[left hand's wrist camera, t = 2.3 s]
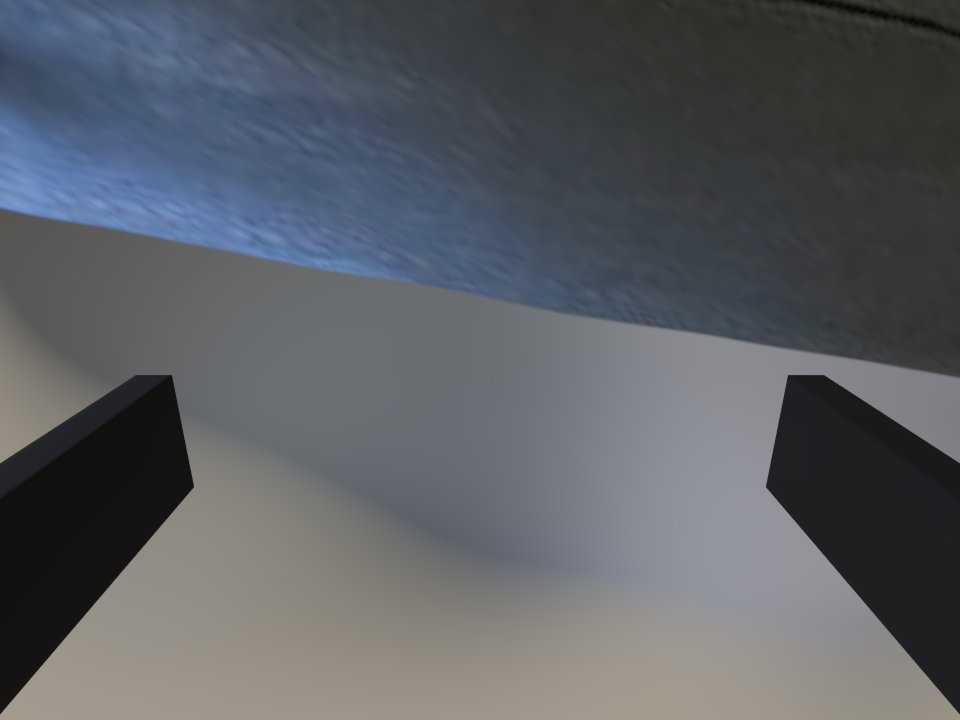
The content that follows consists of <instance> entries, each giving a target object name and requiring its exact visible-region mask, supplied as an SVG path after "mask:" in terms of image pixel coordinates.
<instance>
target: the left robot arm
mask: <svg viewBox="0 0 960 720" xmlns="http://www.w3.org/2000/svg"><path fill="white" fill-rule="evenodd" d="M193 488H194V484H193V479H192V474H191V469H190V464H189V459H188V454H187V449H186V444H185V439H184V434H183V429H182V424H181V419H180V414H179V409H178V404H177V399H176V393H175V388H174V383H173V378H172V375H135V376H134V377H132V378H131V379H129V380H128V381H126V382H125V383H123V384H122V385H120V386H119V387H117V388H115V389H114V390H112V391H111V392H109V393H108V394H106V395H105V396H103V397H102V398H100V399H99V400H97V401H96V402H94V403H92V404H91V405H89V406H88V407H86V408H85V409H83V410H82V411H80V412H79V413H77V414H75V415H74V416H72V417H71V418H69V419H68V420H66V421H65V422H63V423H62V424H60V425H59V426H57V427H55V428H54V429H52V430H51V431H49V432H48V433H46V434H45V435H43V436H42V437H40V438H39V439H37V440H35V441H34V442H32V443H31V444H29V445H28V446H26V447H25V448H23V449H22V450H20V451H19V452H17V453H15V454H14V455H12V456H11V457H9V458H8V459H6V460H5V461H3V462H2V463H0V714H1V713H2V712H3V710H4V709H5V708H6V707H7V706H8V704H9V703H10V702H11V701H12V700H13V699H14V698H15V696H16V695H17V694H18V693H19V692H20V690H21V689H22V688H23V687H24V686H25V685H26V683H27V682H28V681H29V680H30V679H31V678H32V676H33V675H34V674H35V673H36V672H37V670H38V669H39V668H40V667H41V666H42V665H43V664H44V662H45V661H46V660H47V659H48V658H49V656H50V655H51V654H52V653H53V652H54V651H55V649H56V648H57V647H58V646H59V645H60V644H61V642H62V641H63V640H64V639H65V638H66V637H67V635H68V634H69V633H70V632H71V631H72V629H73V628H74V627H75V626H76V625H77V624H78V622H79V621H80V620H81V619H82V618H83V617H84V615H85V614H86V613H87V612H88V611H89V610H90V608H91V607H92V606H93V605H94V604H95V603H96V601H97V600H98V599H99V598H100V597H101V596H102V594H103V593H104V592H105V591H106V590H107V588H108V587H109V586H110V585H111V584H112V583H113V581H114V580H115V579H116V578H117V577H118V576H119V574H120V573H121V572H122V571H123V570H124V569H125V567H126V566H127V565H128V564H129V563H130V561H131V560H132V559H133V558H134V557H135V556H136V554H137V553H138V552H139V551H140V550H141V549H142V547H143V546H144V545H145V544H146V543H147V542H148V540H149V539H150V538H151V537H152V536H153V535H154V533H155V532H156V531H157V530H158V529H159V528H160V526H161V525H162V524H163V523H164V522H165V520H166V519H167V518H168V517H169V516H170V515H171V513H172V512H173V511H174V510H175V509H176V508H177V506H178V505H179V504H180V503H181V502H182V501H183V499H184V498H185V497H186V496H187V495H188V493H189V492H190V491H191V490H192V489H193ZM766 488H767V489H768V490H769V491H770V492H771V494H772V495H773V496H774V497H775V498H776V499H777V500H778V502H779V503H780V504H781V505H782V506H783V508H784V509H785V510H786V511H787V512H788V513H789V515H790V516H791V517H792V518H793V519H794V520H795V522H796V523H797V524H798V525H799V526H800V527H801V529H802V530H803V531H804V532H805V533H806V535H807V536H808V537H809V538H810V539H811V540H812V542H813V543H814V544H815V545H816V546H817V547H818V549H819V550H820V551H821V552H822V553H823V554H824V556H825V557H826V558H827V559H828V560H829V562H830V563H831V564H832V565H833V566H834V567H835V569H836V570H837V571H838V572H839V573H840V574H841V576H842V577H843V578H844V579H845V580H846V581H847V583H848V584H849V585H850V586H851V587H852V588H853V590H854V591H855V592H856V593H857V594H858V595H859V597H860V598H861V599H862V600H863V601H864V603H865V604H866V605H867V606H868V607H869V608H870V610H871V611H872V612H873V613H874V614H875V615H876V617H877V618H878V619H879V620H880V621H881V622H882V624H883V625H884V626H885V627H886V628H887V629H888V631H889V632H890V633H891V634H892V635H893V637H894V638H895V639H896V640H897V641H898V642H899V644H900V645H901V646H902V647H903V648H904V649H905V651H906V652H907V653H908V654H909V655H910V656H911V658H912V659H913V660H914V661H915V662H916V664H917V665H918V666H919V667H920V668H921V669H922V671H923V672H924V673H925V674H926V675H927V676H928V678H929V679H930V680H931V681H932V682H933V683H934V685H935V686H936V687H937V688H938V689H939V690H940V692H941V693H942V694H943V695H944V696H945V698H946V699H947V700H948V701H949V702H950V703H951V704H952V706H953V707H954V708H955V709H956V710H957V712H958V713H959V714H960V463H958V462H957V461H955V460H954V459H952V458H951V457H949V456H948V455H946V454H944V453H943V452H941V451H940V450H938V449H937V448H935V447H934V446H932V445H931V444H929V443H928V442H926V441H925V440H923V439H921V438H920V437H918V436H917V435H915V434H914V433H912V432H911V431H909V430H908V429H906V428H905V427H903V426H901V425H900V424H898V423H897V422H895V421H894V420H892V419H891V418H889V417H888V416H886V415H885V414H883V413H881V412H880V411H878V410H877V409H875V408H874V407H872V406H871V405H869V404H868V403H866V402H864V401H863V400H861V399H860V398H858V397H857V396H855V395H854V394H852V393H851V392H849V391H848V390H846V389H845V388H843V387H841V386H840V385H838V384H837V383H835V382H834V381H832V380H831V379H829V378H828V377H826V376H825V375H788V378H787V383H786V388H785V393H784V399H783V404H782V409H781V414H780V419H779V424H778V429H777V434H776V439H775V444H774V449H773V454H772V459H771V464H770V469H769V474H768V479H767V484H766Z"/></svg>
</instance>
